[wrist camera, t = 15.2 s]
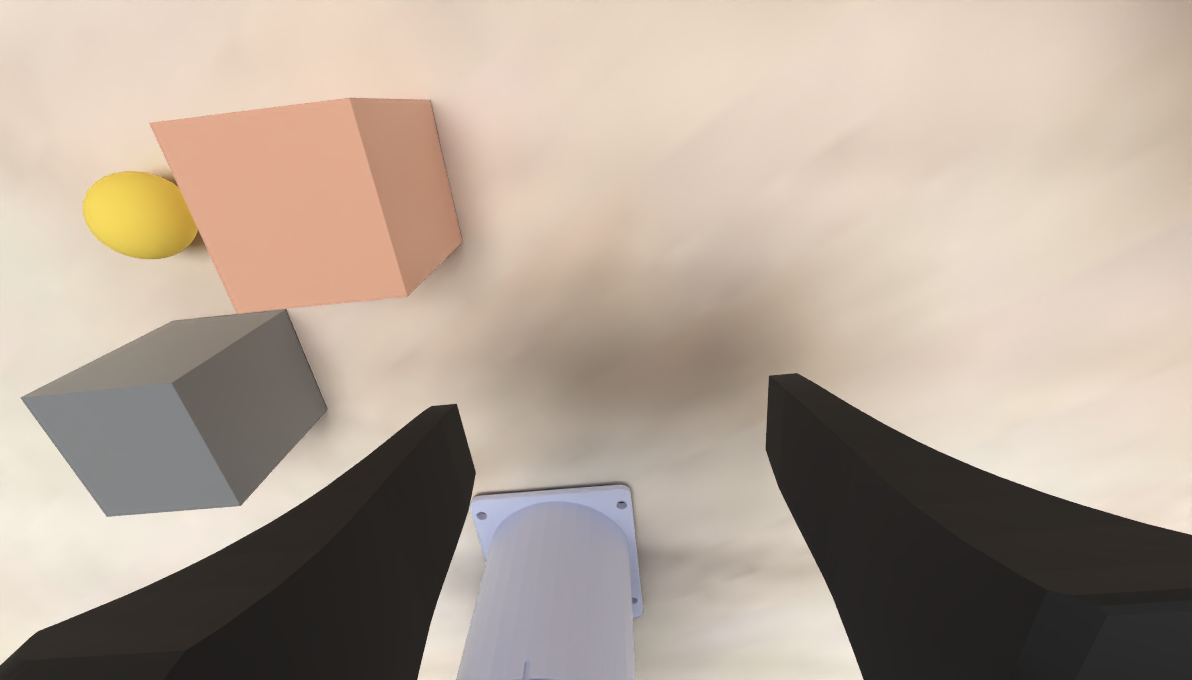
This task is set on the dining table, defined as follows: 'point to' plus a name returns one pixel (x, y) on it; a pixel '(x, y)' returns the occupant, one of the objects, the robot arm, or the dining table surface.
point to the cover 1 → (316, 199)
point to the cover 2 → (183, 413)
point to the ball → (139, 215)
